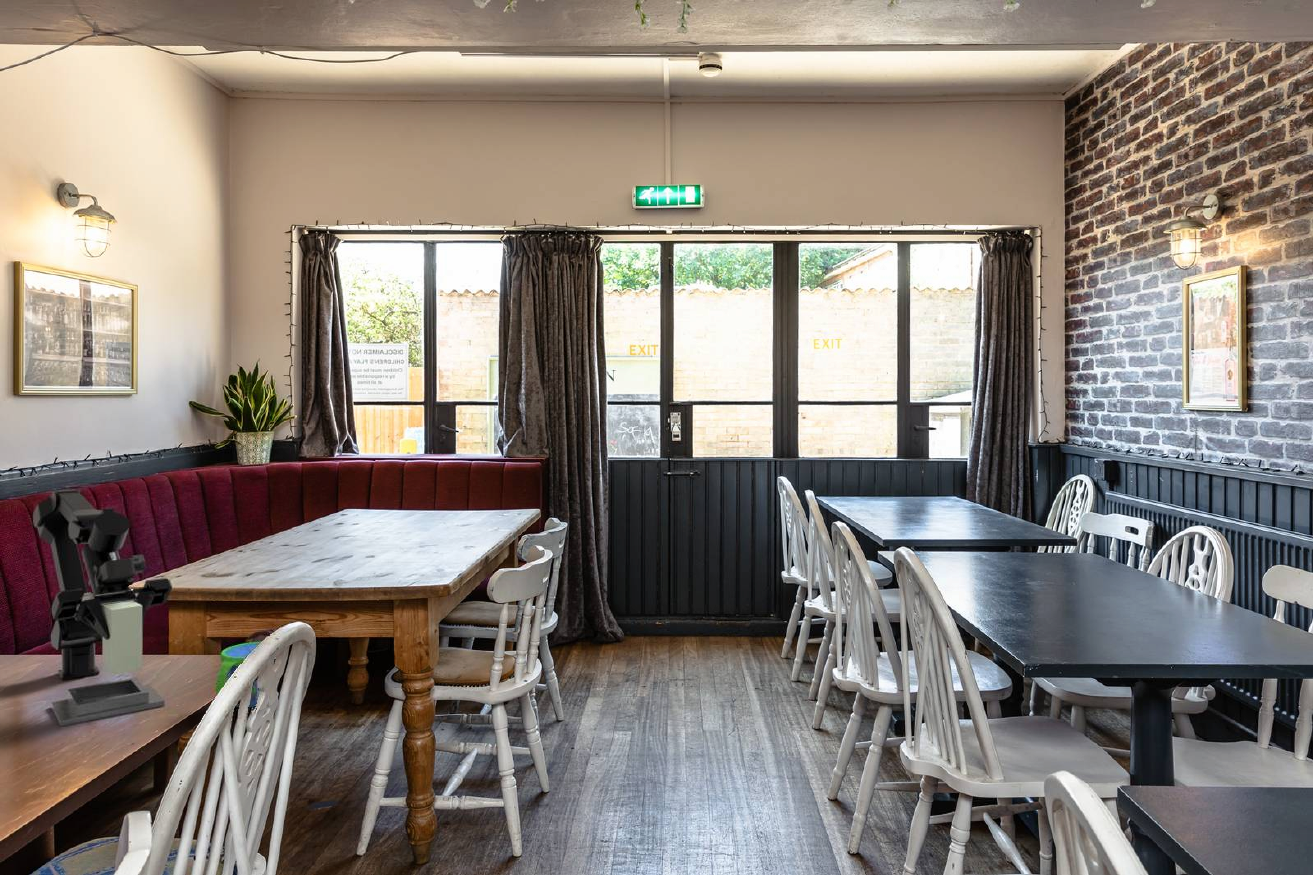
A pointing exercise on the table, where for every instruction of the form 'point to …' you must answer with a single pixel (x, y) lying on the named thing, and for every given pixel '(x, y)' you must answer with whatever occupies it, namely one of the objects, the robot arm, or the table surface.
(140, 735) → the table surface
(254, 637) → the icecream
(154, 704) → the grey rectangular tray
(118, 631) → the sage block
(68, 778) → the table surface
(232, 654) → the snack cup
